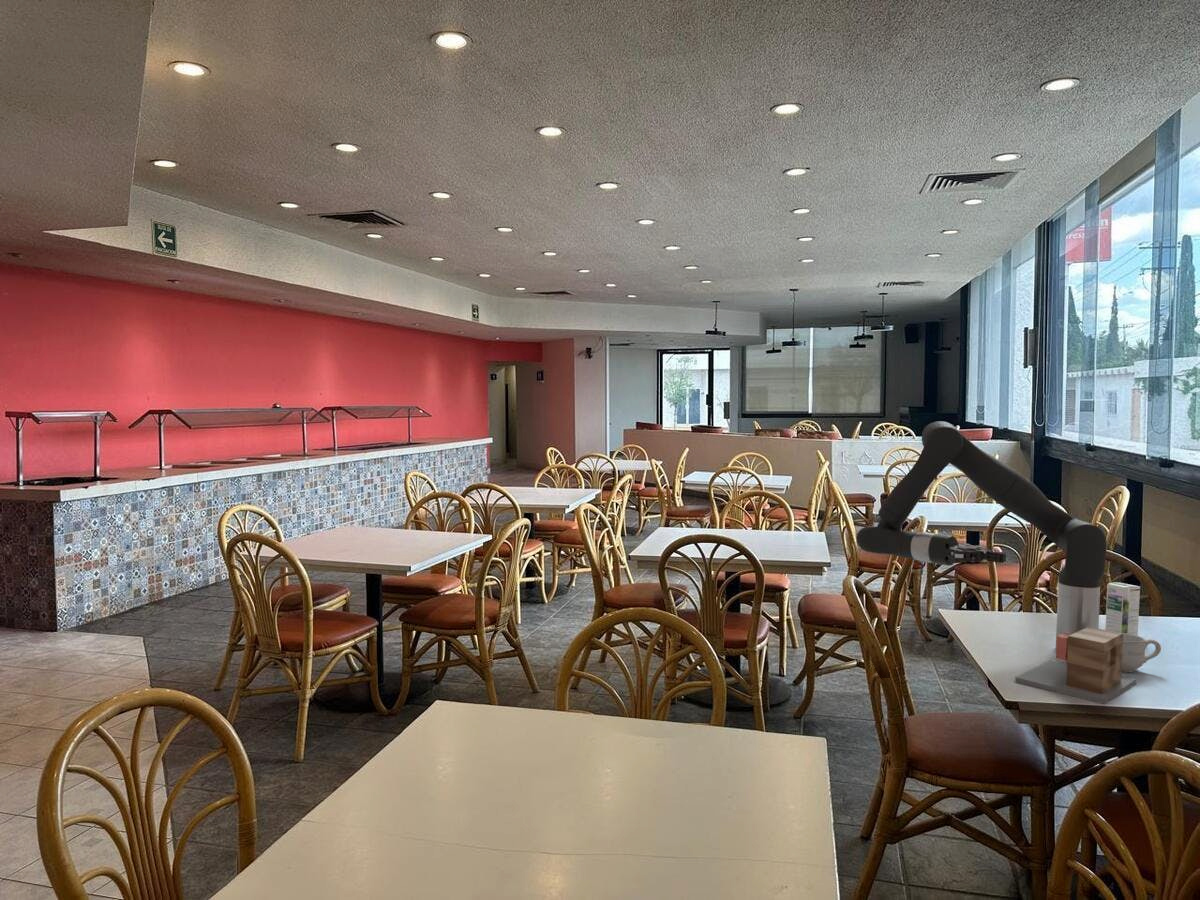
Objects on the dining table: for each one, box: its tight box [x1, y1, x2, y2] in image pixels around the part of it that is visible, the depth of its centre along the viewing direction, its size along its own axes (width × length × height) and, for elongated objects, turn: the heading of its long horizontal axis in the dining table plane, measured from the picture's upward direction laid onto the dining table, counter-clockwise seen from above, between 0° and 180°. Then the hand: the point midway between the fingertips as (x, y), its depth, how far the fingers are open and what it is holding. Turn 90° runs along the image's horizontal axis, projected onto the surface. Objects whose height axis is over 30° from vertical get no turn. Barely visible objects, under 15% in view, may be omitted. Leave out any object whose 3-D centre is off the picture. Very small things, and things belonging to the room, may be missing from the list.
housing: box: [1066, 627, 1123, 694], centre depth 179 cm, size 12×7×12 cm, turn 131°
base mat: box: [1014, 659, 1137, 705], centre depth 183 cm, size 20×18×1 cm
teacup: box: [1121, 633, 1162, 673], centre depth 193 cm, size 14×11×8 cm
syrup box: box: [1104, 581, 1141, 636], centre depth 221 cm, size 6×6×14 cm
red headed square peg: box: [1055, 633, 1071, 662], centre depth 181 cm, size 5×9×5 cm, turn 41°
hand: (1004, 558), depth 193 cm, fingers closed
